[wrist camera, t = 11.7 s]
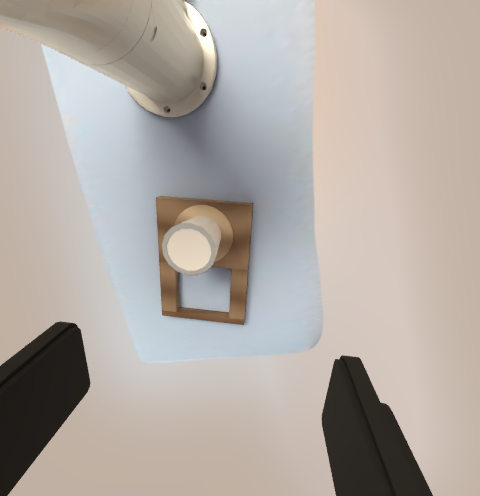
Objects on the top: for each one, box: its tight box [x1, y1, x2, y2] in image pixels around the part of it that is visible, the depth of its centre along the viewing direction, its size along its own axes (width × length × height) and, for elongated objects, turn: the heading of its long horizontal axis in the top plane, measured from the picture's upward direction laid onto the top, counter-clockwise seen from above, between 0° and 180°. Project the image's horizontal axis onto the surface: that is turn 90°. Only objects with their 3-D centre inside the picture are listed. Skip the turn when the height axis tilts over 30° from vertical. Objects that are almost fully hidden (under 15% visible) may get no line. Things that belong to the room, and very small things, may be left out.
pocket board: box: [156, 196, 253, 325], centre depth 41 cm, size 20×14×2 cm
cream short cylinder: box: [162, 216, 221, 275], centre depth 35 cm, size 7×7×7 cm
